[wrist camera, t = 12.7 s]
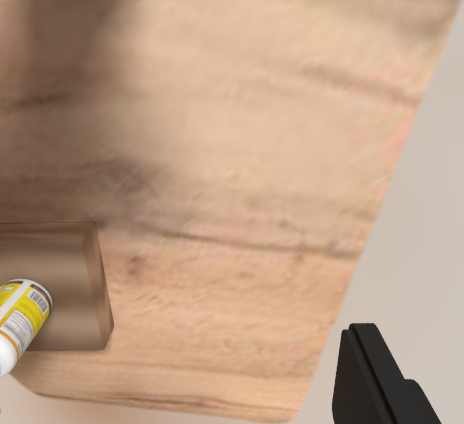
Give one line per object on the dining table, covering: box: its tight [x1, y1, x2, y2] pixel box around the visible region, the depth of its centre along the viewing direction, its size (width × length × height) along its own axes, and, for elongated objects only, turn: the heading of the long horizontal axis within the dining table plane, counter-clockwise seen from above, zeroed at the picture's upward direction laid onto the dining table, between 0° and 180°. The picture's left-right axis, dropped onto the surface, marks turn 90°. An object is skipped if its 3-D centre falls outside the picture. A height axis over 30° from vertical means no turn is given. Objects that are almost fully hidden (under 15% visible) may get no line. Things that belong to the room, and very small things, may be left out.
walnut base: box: [0, 222, 114, 351], centre depth 40 cm, size 14×14×4 cm
